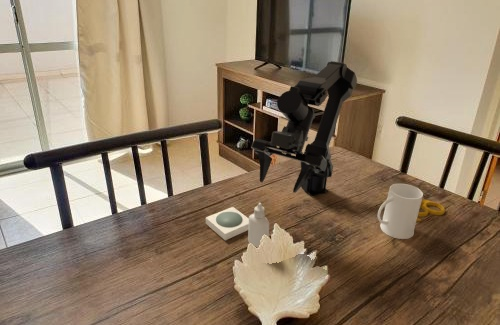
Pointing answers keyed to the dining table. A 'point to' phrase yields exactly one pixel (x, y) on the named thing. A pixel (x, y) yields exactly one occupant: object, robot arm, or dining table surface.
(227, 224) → the plinth
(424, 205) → the yellow scissors
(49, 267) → the dining table surface
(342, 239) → the dining table surface
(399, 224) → the mug
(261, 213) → the eye dropper bottle
